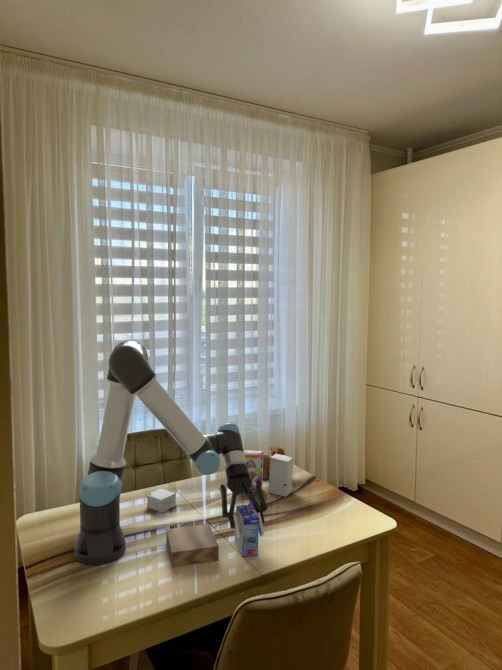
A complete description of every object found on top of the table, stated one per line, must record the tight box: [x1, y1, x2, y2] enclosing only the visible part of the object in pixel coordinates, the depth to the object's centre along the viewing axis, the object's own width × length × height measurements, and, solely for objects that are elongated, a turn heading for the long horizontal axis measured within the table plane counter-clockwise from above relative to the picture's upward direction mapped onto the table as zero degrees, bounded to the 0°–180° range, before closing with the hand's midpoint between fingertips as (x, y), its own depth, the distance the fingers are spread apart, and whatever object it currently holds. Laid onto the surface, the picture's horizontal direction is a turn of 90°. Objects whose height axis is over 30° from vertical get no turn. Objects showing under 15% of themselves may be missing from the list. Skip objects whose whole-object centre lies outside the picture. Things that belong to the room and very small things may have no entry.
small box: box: [146, 488, 177, 514], centre depth 177 cm, size 8×8×5 cm
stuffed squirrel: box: [263, 446, 287, 480], centre depth 207 cm, size 10×14×13 cm
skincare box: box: [267, 454, 295, 498], centre depth 191 cm, size 8×6×15 cm
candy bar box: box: [243, 449, 264, 494], centre depth 192 cm, size 11×5×16 cm, turn 84°
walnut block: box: [165, 523, 220, 568], centre depth 147 cm, size 14×14×5 cm
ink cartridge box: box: [234, 501, 260, 557], centre depth 149 cm, size 10×6×14 cm, turn 15°
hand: (250, 536), depth 146 cm, fingers open, 7 cm apart
